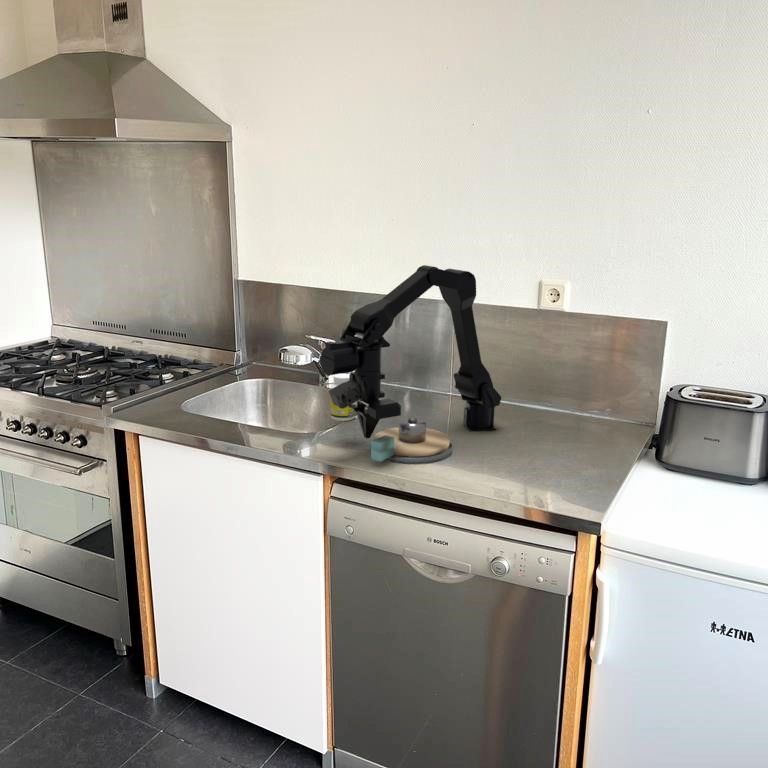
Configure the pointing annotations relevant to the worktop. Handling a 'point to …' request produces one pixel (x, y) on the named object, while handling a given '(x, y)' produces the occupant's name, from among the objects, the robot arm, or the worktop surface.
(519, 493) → the worktop surface
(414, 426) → the cover
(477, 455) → the worktop surface
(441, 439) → the turntable
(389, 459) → the base
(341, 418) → the pill bottle
